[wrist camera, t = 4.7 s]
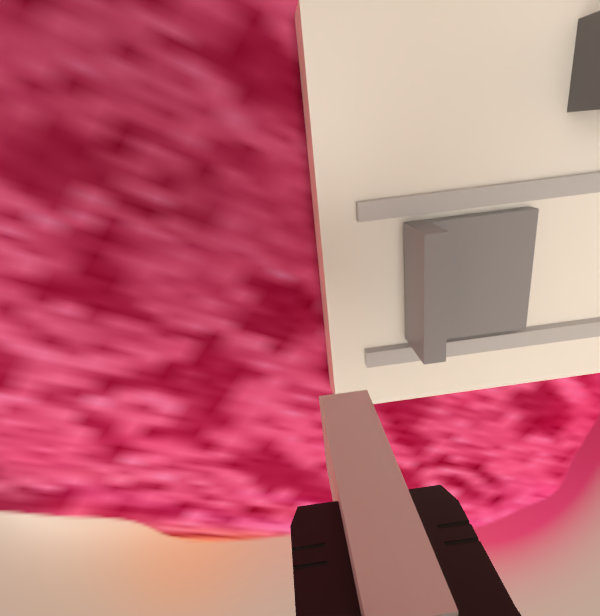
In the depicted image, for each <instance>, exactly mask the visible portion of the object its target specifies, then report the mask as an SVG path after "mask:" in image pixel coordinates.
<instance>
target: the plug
mask: <svg viewBox="0 0 600 616" xmlns="http://www.w3.org/2000/svg"><path fill="white" fill-rule="evenodd" d="M599 109H600V11H598V12H595V13H592V14H590V15H587V16H585V17H582V18H579V19H578V24H577V32H576V41H575V49H574V57H573V65H572V73H571V81H570V90H569V98H568V106H567V112H577V111H588V110H599Z"/></svg>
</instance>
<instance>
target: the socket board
mask: <svg viewBox="0 0 600 616" xmlns="http://www.w3.org/2000/svg"><path fill="white" fill-rule="evenodd" d="M598 11H600V0H298V4H297V8H296V12H295V25H296V36H297V46H298V57H299V67H300V78H301V88H302V98H303V109H304V119H305V130H306V140H307V151H308V161H309V171H310V182H311V192H312V203H313V213H314V224H315V234H316V244H317V255H318V265H319V276H320V286H321V297H322V307H323V317H324V328H325V338H326V349H327V359H328V370H329V380H330V386H331V390H332V394H339V393H346V392H353V391H361V390H367V391H368V393H369V395H370V398H371V400H372V403H373V404H377V403H385V402H392V401H399V400H406V399H413V398H421V397H428V396H435V395H442V394H449V393H457V392H464V391H471V390H478V389H485V388H493V387H500V386H507V385H514V384H521V383H529V382H536V381H543V380H550V379H557V378H565V377H572V376H579V375H586V374H593V373H600V109H599V110H588V111H577V112H567V106H568V98H569V90H570V81H571V73H572V65H573V57H574V49H575V41H576V32H577V24H578V19H579V18H582V17H585V16H587V15H590V14H592V13H595V12H598ZM529 206H531V207H535V208H539V213H538V222H537V231H536V241H535V250H534V259H533V268H532V278H531V287H530V296H529V305H528V315H527V324H526V328H525V329H518V330H511V331H503V332H496V333H488V334H481V335H474V336H466V337H459V338H451V339H447V341H446V362H439V363H432V364H425V365H424V364H423V363H422V361H421V360H420V359H419V357H418V356H417V354H416V353H415V351H414V350H413V349H412V347H411V346H410V344H409V343H408V342H407V340H406V339H405V300H404V231H403V222H409V221H417V220H425V219H433V218H441V217H449V216H457V215H465V214H473V213H481V212H489V211H497V210H505V209H513V208H521V207H529Z"/></svg>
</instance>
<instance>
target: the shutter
mask: <svg viewBox="0 0 600 616" xmlns="http://www.w3.org/2000/svg"><path fill="white" fill-rule="evenodd" d="M538 213H539V208H535V207H531V206H529V207H521V208H513V209H505V210H497V211H489V212H481V213H473V214H465V215H457V216H449V217H441V218H433V219H425V220H417V221H409V222H403V231H404V300H405V339H406V340H407V342H408V343H409V344H410V346H411V347H412V349H413V350H414V351H415V353H416V354H417V356H418V357H419V359H420V360H421V361H422V363H423V364H424V365H425V364H432V363H439V362H446V341H447V339H451V338H459V337H466V336H474V335H481V334H488V333H496V332H503V331H511V330H518V329H525V328H526V324H527V315H528V305H529V296H530V287H531V278H532V268H533V259H534V250H535V241H536V231H537V222H538Z"/></svg>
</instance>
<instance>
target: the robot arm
mask: <svg viewBox="0 0 600 616" xmlns="http://www.w3.org/2000/svg"><path fill="white" fill-rule="evenodd" d="M319 401H320V411H321V420H322V429H323V438H324V447H325V456H326V465H327V471H328V476H329V481H330V487H331V492H332V498H333V502H327V503H320V504H314V505H307V506H300V507H298V508H297V510H296V513H295V516H294V518H293V521H292V524H291V541H292V558H293V574H294V588H295V606H296V616H521V615H520V613H519V612H518V610H517V608H516V607H515V605H514V604H513V601H512V600H511V598H510V596H509V594H508V592H507V590H506V589H505V587H504V585H503V583H502V581H501V579H500V577H499V576H498V574H497V572H496V570H495V568H494V566H493V565H492V563H491V561H490V559H489V557H488V555H487V553H486V551H485V550H484V548H483V546H482V544H481V542H480V541H478V537H477V535H476V533H475V531H474V529H473V527H472V525H471V524H469V520H468V518H467V516H466V514H465V512H464V511H463V509H462V507H461V505H460V503H459V501H458V500H457V499H456V498H455V497H454V496H452V495H451V494H450V493H449V492H448V491H447V490H446V489H445V488H444V487H442V486H441V485H436V486H429V487H422V488H415V489H409V490H408V488H407V485H406V483H405V480H404V478H403V476H402V473H401V471H400V468H399V466H398V463H397V461H396V459H395V456H394V454H393V451H392V449H391V446H390V444H389V442H388V439H387V437H386V434H385V432H384V429H383V427H382V425H381V422H380V420H379V417H378V415H377V412H376V410H375V408H374V405H373V403H372V400H371V398H370V395H369V393H368V391H367V390H361V391H353V392H346V393H339V394H331V395H324V396H319Z"/></svg>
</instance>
